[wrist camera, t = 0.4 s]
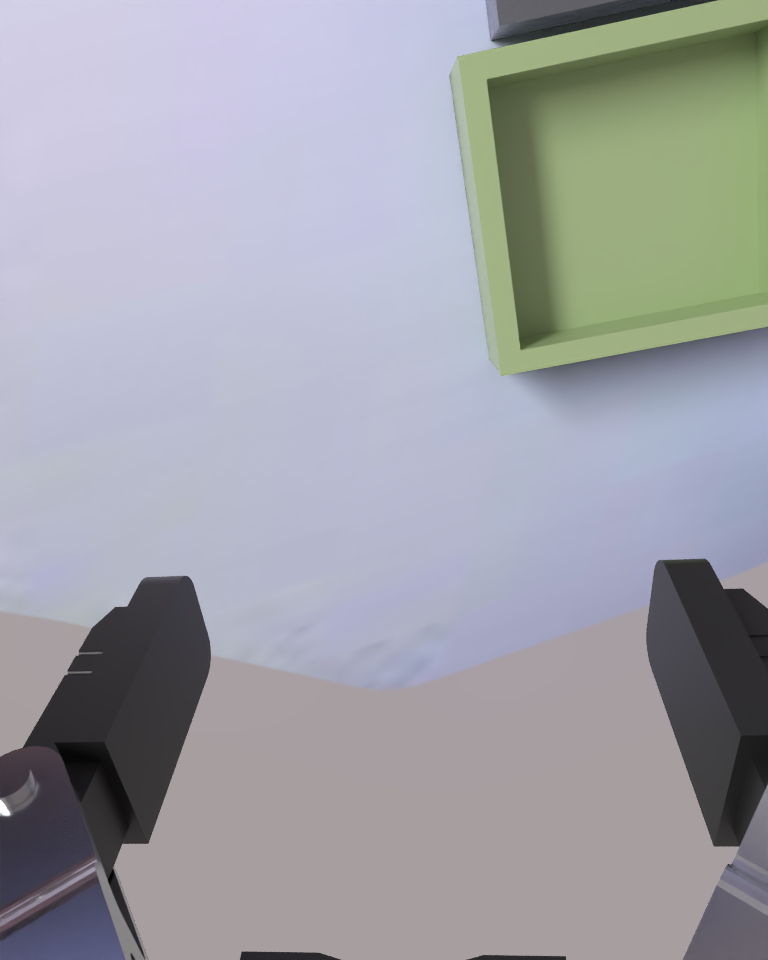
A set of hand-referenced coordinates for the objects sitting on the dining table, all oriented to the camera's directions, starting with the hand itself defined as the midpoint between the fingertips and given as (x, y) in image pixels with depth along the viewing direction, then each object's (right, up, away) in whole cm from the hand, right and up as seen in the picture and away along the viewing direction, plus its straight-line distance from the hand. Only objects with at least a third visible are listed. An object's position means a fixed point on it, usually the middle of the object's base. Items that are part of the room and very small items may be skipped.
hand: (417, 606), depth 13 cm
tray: (+10, +16, +21) cm, 28 cm away
